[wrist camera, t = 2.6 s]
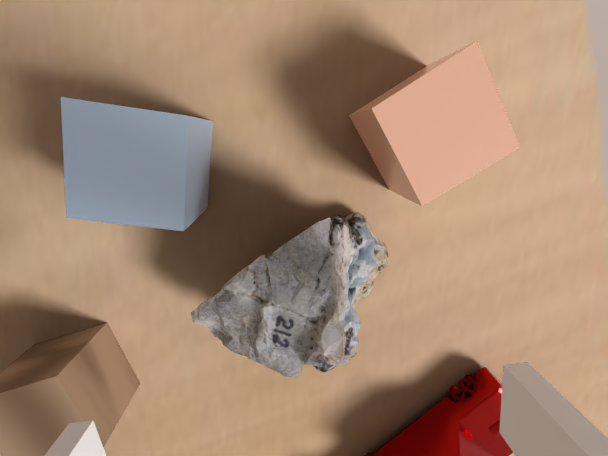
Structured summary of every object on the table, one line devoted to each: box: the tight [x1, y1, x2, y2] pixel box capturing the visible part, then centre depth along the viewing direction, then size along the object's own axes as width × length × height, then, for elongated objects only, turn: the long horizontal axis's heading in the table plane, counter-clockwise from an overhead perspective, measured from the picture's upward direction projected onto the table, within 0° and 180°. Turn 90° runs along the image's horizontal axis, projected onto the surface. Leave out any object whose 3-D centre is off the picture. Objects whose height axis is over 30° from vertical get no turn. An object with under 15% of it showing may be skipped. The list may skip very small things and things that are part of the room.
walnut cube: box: [0, 323, 140, 456], centre depth 20 cm, size 5×5×5 cm
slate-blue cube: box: [61, 97, 213, 231], centre depth 16 cm, size 5×5×5 cm
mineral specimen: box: [191, 212, 389, 377], centre depth 19 cm, size 10×8×10 cm
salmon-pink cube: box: [349, 41, 520, 206], centre depth 17 cm, size 5×5×5 cm
